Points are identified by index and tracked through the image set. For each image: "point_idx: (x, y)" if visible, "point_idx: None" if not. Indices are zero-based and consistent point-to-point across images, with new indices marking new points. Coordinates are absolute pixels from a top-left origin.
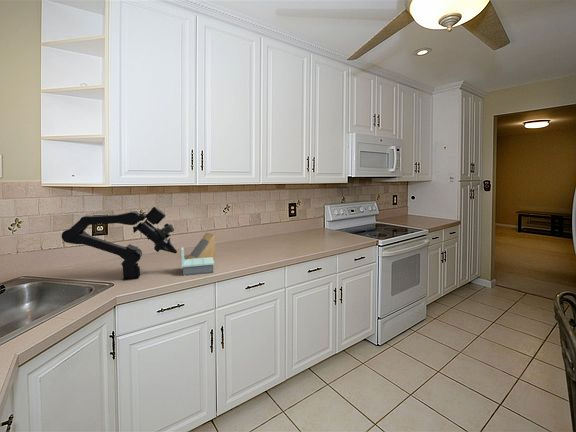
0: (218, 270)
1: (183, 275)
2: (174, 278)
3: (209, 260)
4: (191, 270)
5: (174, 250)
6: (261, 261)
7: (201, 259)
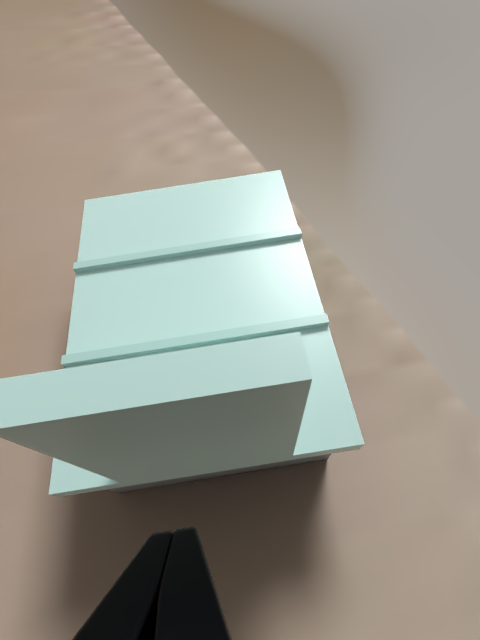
0: None
1: (326, 457)
2: (414, 543)
3: (194, 207)
4: None
5: (217, 608)
6: (116, 71)
7: (135, 272)
